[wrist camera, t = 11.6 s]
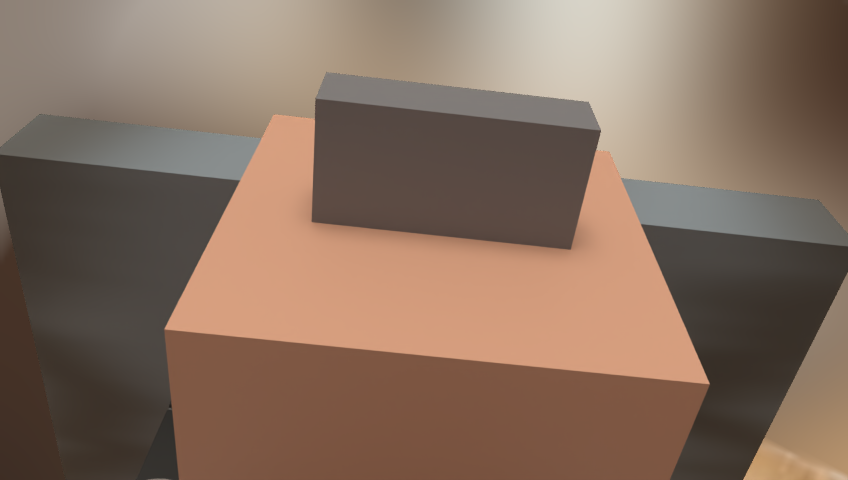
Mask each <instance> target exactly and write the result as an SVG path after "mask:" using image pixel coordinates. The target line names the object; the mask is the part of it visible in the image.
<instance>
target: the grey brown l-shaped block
mask: <svg viewBox="0 0 848 480" xmlns="http://www.w3.org/2000/svg"><path fill="white" fill-rule="evenodd" d="M261 139H262V138H253V137H243V136H234V135H225V134H216V133H207V132H198V131H189V130H180V129H171V128H162V127H153V126H144V125H135V124H125V123H117V122H108V121H98V120H90V119H80V118H72V117H62V116H53V115H45V114H44V115H43V114H39V115H38V116H37V117H36V118H35V119H33V120H32V121H31V122H30V123H29V124H27V125H26V126H25V127H24V128H23V129H21V130H20V131H19V132H18V133H17V134H15V135H14V136H13V137H12V138H11V139H10V140H8V141H7V142H6V143H5V144H4V145H2V146H1V147H0V189H1V193H2V198H3V202H4V207H5V211H6V216H7V220H8V225H9V229H10V234H11V238H12V243H13V247H14V251H15V256H16V260H17V265H18V269H19V273H20V279H21V283H22V287H23V292H24V297H25V301H26V305H27V310H28V314H29V319H30V323H31V328H32V332H33V336H34V341H35V346H36V350H37V354H38V359H39V364H40V368H41V373H42V377H43V382H44V386H45V390H46V395H47V400H48V404H49V409H50V413H51V417H52V422H53V427H54V431H55V435H56V440H57V444H58V449H59V453H60V458H61V462H62V467H63V471H64V476H65V480H136V478H137V477H138V474H139V472H140V470H141V468H142V465H143V463H144V461H145V459H146V456H147V454H148V452H149V449H150V447H151V445H152V443H153V440H154V438H155V436H156V434H157V431H158V429H159V427H160V424H161V422H162V420H163V418H164V415H165V413H166V411H167V410H168V409H169V404H170V402H171V393H170V383H169V373H168V362H167V352H166V342H165V332H164V329H165V327H166V325H167V323H168V321H169V319H170V317H171V315H172V313H173V311H174V309H175V307H176V305H177V303H178V301H179V299H180V297H181V296H182V294H183V292H184V290H185V288H186V286H187V284H188V282H189V280H190V278H191V276H192V274H193V272H194V270H195V268H196V266H197V264H198V262H199V260H200V258H201V256H202V254H203V252H204V251H205V249H206V247H207V245H208V243H209V241H210V239H211V237H212V235H213V233H214V231H215V229H216V227H217V225H218V223H219V221H220V219H221V217H222V215H223V213H224V211H225V209H226V207H227V206H228V204H229V202H230V200H231V198H232V196H233V194H234V192H235V190H236V188H237V186H238V184H239V182H240V180H241V178H242V176H243V174H244V172H245V170H246V168H247V166H248V164H249V162H250V161H251V159H252V157H253V155H254V153H255V151H256V149H257V147H258V145H259V143H260V141H261ZM621 180H622V182H623V184H624V187H625V189H626V191H627V194H628V196H629V198H630V201H631V203H632V205H633V207H634V210H635V212H636V214H637V217H638V219H639V221H640V224H641V226H642V228H643V231H644V233H645V235H646V238H647V240H648V242H649V245H650V247H651V249H652V251H653V254H654V256H655V258H656V261H657V263H658V265H659V268H660V270H661V272H662V275H663V277H664V279H665V282H666V284H667V286H668V288H669V291H670V293H671V295H672V298H673V300H674V302H675V305H676V307H677V309H678V312H679V314H680V316H681V319H682V321H683V323H684V325H685V328H686V330H687V332H688V335H689V337H690V339H691V342H692V344H693V346H694V349H695V351H696V353H697V356H698V358H699V360H700V362H701V365H702V367H703V369H704V372H705V374H706V376H707V379H708V381H709V383H710V385H709V388H708V390H707V392H706V395H705V397H704V400H703V402H702V404H701V407H700V409H699V411H698V414H697V416H696V419H695V421H694V423H693V426H692V428H691V430H690V433H689V435H688V438H687V440H686V442H685V445H684V447H683V449H682V452H681V454H680V456H679V459H678V461H677V464H676V466H675V468H674V471H673V473H672V475H671V478H670V480H743V479H744V477H745V475H746V473H747V471H748V469H749V467H750V465H751V463H752V461H753V459H754V457H755V455H756V453H757V451H758V449H759V447H760V445H761V443H762V441H763V439H764V437H765V435H766V433H767V431H768V429H769V427H770V425H771V423H772V421H773V419H774V417H775V415H776V413H777V411H778V409H779V407H780V405H781V403H782V401H783V399H784V397H785V395H786V393H787V391H788V389H789V387H790V386H791V384H792V382H793V380H794V378H795V376H796V373H797V371H798V370H799V367H800V366H801V364H802V362H803V360H804V358H805V356H806V354H807V352H808V350H809V348H810V346H811V344H812V342H813V340H814V338H815V336H816V334H817V332H818V330H819V328H820V326H821V324H822V322H823V320H824V318H825V316H826V314H827V312H828V310H829V308H830V306H831V304H832V302H833V300H834V298H835V296H836V294H837V292H838V290H839V288H840V286H841V284H842V282H843V280H844V278H845V276H846V274H847V272H848V233H847V232H846V231H845V230H844V229H843V228H842V226H841V225H840V224H839V223H838V222H837V221H836V219H835V218H834V217H833V216H832V215H831V214H830V212H829V211H828V210H827V209H826V208H825V207H824V206H823V204H822V203H821V202H820V201H819V200H814V199H804V198H796V197H786V196H777V195H768V194H759V193H750V192H740V191H732V190H723V189H714V188H705V187H696V186H687V185H677V184H669V183H660V182H651V181H642V180H632V179H624V178H621Z"/></svg>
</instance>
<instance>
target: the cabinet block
mask: <svg viewBox="0 0 848 480" xmlns="http://www.w3.org/2000/svg"><path fill="white" fill-rule="evenodd" d="M315 104H316V105H315V119H311V118H302V117H292V116H284V115H273V117H272V119H271V122H270V124H269V125H268V128H267V129H266V131H265V133H264V135H263V137H262V139H261V141H260V143H259V145H258V147H257V149H256V151H255V153H254V155H253V157H252V159H251V161H250V162H249V164H248V166H247V168H246V170H245V172H244V174H243V176H242V178H241V180H240V182H239V184H238V186H237V188H236V190H235V192H234V194H233V196H232V198H231V200H230V202H229V204H228V206H227V207H226V209H225V211H224V213H223V215H222V217H221V219H220V221H219V223H218V225H217V227H216V229H215V231H214V233H213V235H212V237H211V239H210V241H209V243H208V245H207V247H206V249H205V251H204V252H203V254H202V256H201V258H200V260H199V262H198V264H197V266H196V268H195V270H194V272H193V274H192V276H191V278H190V280H189V282H188V284H187V286H186V288H185V290H184V292H183V294H182V296H181V297H180V299H179V301H178V303H177V305H176V307H175V309H174V311H173V313H172V315H171V317H170V319H169V321H168V323H167V325H166V327H165V329H164V332H165V342H166V352H167V362H168V373H169V383H170V393H171V403H172V413H173V423H174V434H175V444H176V454H177V464H178V474H179V480H670V478H671V475H672V473H673V471H674V468H675V466H676V464H677V461H678V459H679V456H680V454H681V452H682V449H683V447H684V445H685V442H686V440H687V438H688V435H689V433H690V430H691V428H692V426H693V423H694V421H695V419H696V416H697V414H698V411H699V409H700V407H701V404H702V402H703V400H704V397H705V395H706V392H707V390H708V388H709V385H710V383H709V381H708V379H707V376H706V374H705V372H704V369H703V367H702V365H701V362H700V360H699V358H698V356H697V353H696V351H695V349H694V346H693V344H692V342H691V339H690V337H689V335H688V332H687V330H686V328H685V325H684V323H683V321H682V319H681V316H680V314H679V312H678V309H677V307H676V305H675V302H674V300H673V298H672V295H671V293H670V291H669V288H668V286H667V284H666V282H665V279H664V277H663V275H662V272H661V270H660V268H659V265H658V263H657V261H656V258H655V256H654V254H653V251H652V249H651V247H650V245H649V242H648V240H647V238H646V235H645V233H644V231H643V228H642V226H641V224H640V221H639V219H638V217H637V214H636V212H635V210H634V207H633V205H632V203H631V201H630V198H629V196H628V194H627V191H626V189H625V187H624V184H623V182H622V180H621V178H620V175H619V173H618V171H617V168H616V166H615V164H614V162H613V159H612V157H611V154H610V152H606V151H598V150H596V148H597V144H598V140H599V137H600V132H601V129H600V127H599V125H598V122H597V120H596V118H595V115H594V113H593V111H592V108H591V106H590V104H589V102H583V101H574V100H565V99H556V98H547V97H539V96H530V95H520V94H513V93H504V92H495V91H486V90H477V89H469V88H460V87H451V86H441V85H433V84H425V83H416V82H406V81H398V80H389V79H381V78H371V77H363V76H354V75H346V74H337V73H326V74H325V77H324V79H323V82H322V84H321V87H320V89H319V92H318V94H317V97H316V103H315Z"/></svg>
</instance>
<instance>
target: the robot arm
mask: <svg viewBox="0 0 848 480" xmlns="http://www.w3.org/2000/svg"><path fill="white" fill-rule="evenodd" d="M136 480H179V474H178V464H177V454H176V444H175V434H174V423H173V413H172V403H171V402H170V404H169V409H168V410H167V411H166V413H165V415H164V418H163V420H162V422H161V424H160V427H159V429H158V431H157V434H156V436H155V438H154V440H153V443H152V445H151V447H150V449H149V452H148V454H147V456H146V459H145V461H144V463H143V465H142V468H141V470H140V472H139V474H138V477H137V478H136Z"/></svg>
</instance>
